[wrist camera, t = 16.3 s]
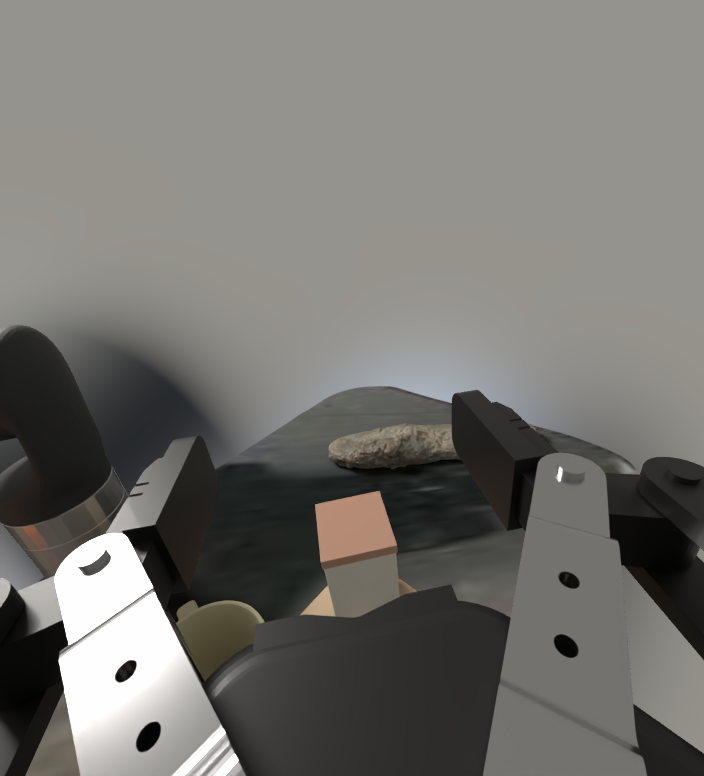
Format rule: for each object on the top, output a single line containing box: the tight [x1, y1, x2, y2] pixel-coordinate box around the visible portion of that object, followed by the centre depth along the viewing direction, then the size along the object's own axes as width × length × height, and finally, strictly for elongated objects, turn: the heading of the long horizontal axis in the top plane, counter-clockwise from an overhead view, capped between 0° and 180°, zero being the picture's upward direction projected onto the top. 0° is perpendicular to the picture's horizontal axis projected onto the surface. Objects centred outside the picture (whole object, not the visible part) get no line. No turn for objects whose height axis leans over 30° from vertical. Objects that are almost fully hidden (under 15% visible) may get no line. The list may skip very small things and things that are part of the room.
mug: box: [176, 600, 264, 680], centre depth 28 cm, size 11×10×12 cm
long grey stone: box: [328, 423, 537, 469], centre depth 60 cm, size 35×5×10 cm
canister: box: [315, 491, 400, 618], centre depth 30 cm, size 5×5×11 cm
